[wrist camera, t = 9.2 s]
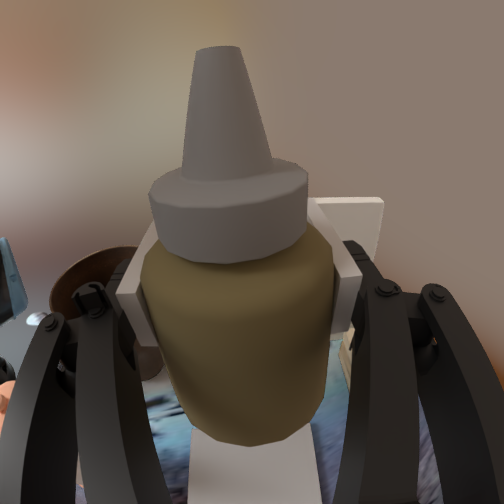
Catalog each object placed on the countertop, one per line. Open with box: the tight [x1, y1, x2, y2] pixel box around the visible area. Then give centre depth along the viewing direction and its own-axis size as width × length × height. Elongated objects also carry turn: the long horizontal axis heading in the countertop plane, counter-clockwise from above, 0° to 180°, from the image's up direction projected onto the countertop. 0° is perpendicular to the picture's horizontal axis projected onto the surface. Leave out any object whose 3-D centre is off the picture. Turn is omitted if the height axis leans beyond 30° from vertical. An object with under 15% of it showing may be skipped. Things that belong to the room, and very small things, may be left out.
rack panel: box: [314, 197, 385, 341], centre depth 33 cm, size 16×2×22 cm, turn 92°
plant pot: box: [49, 245, 164, 381], centre depth 32 cm, size 15×15×16 cm
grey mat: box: [188, 423, 322, 504], centre depth 21 cm, size 14×14×1 cm
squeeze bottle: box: [140, 46, 334, 447], centre depth 10 cm, size 8×8×18 cm
